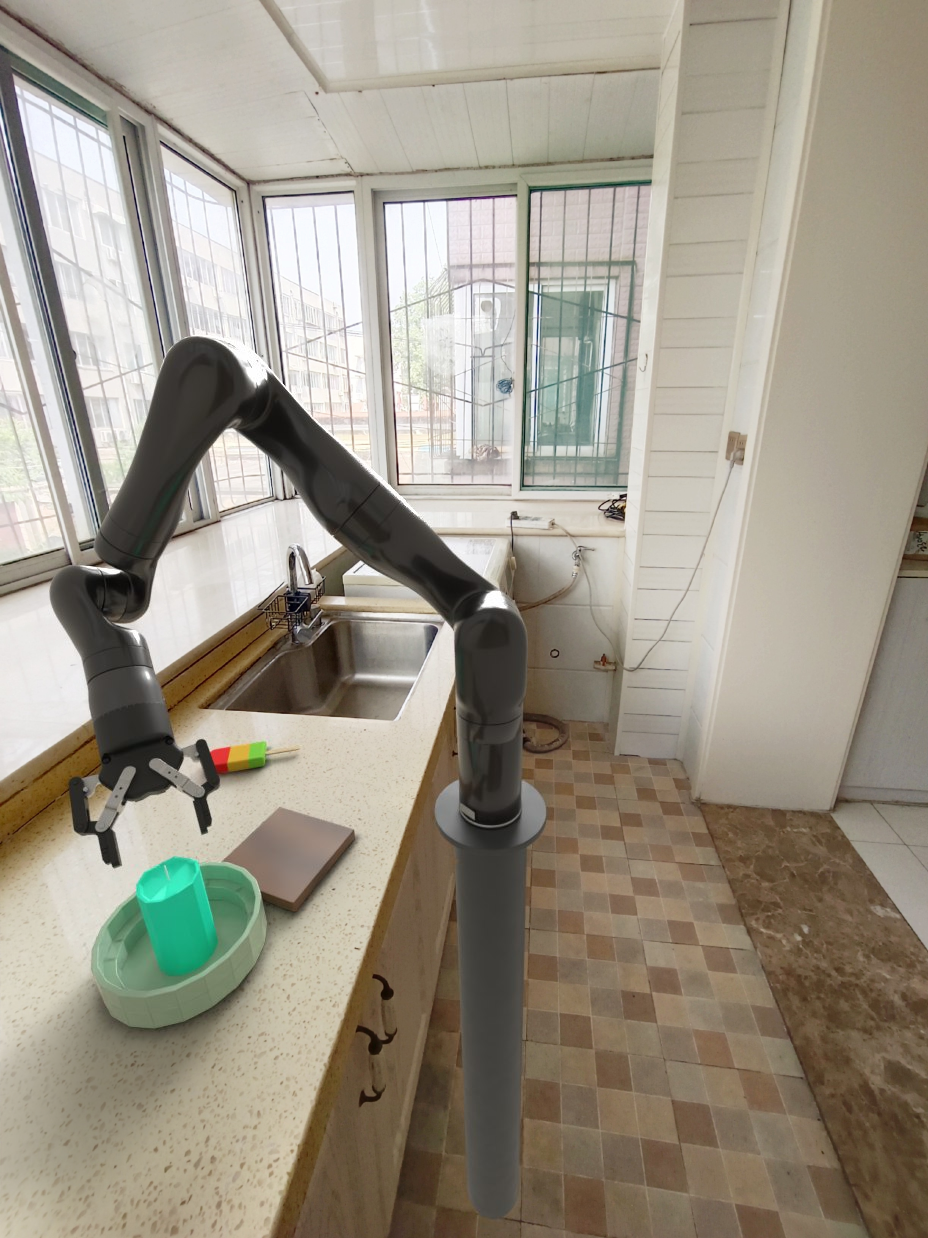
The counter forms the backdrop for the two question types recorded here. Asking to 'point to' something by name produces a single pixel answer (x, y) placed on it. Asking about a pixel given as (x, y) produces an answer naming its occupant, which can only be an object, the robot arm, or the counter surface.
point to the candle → (177, 915)
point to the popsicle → (244, 756)
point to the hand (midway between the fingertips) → (162, 849)
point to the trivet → (291, 855)
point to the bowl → (168, 999)
